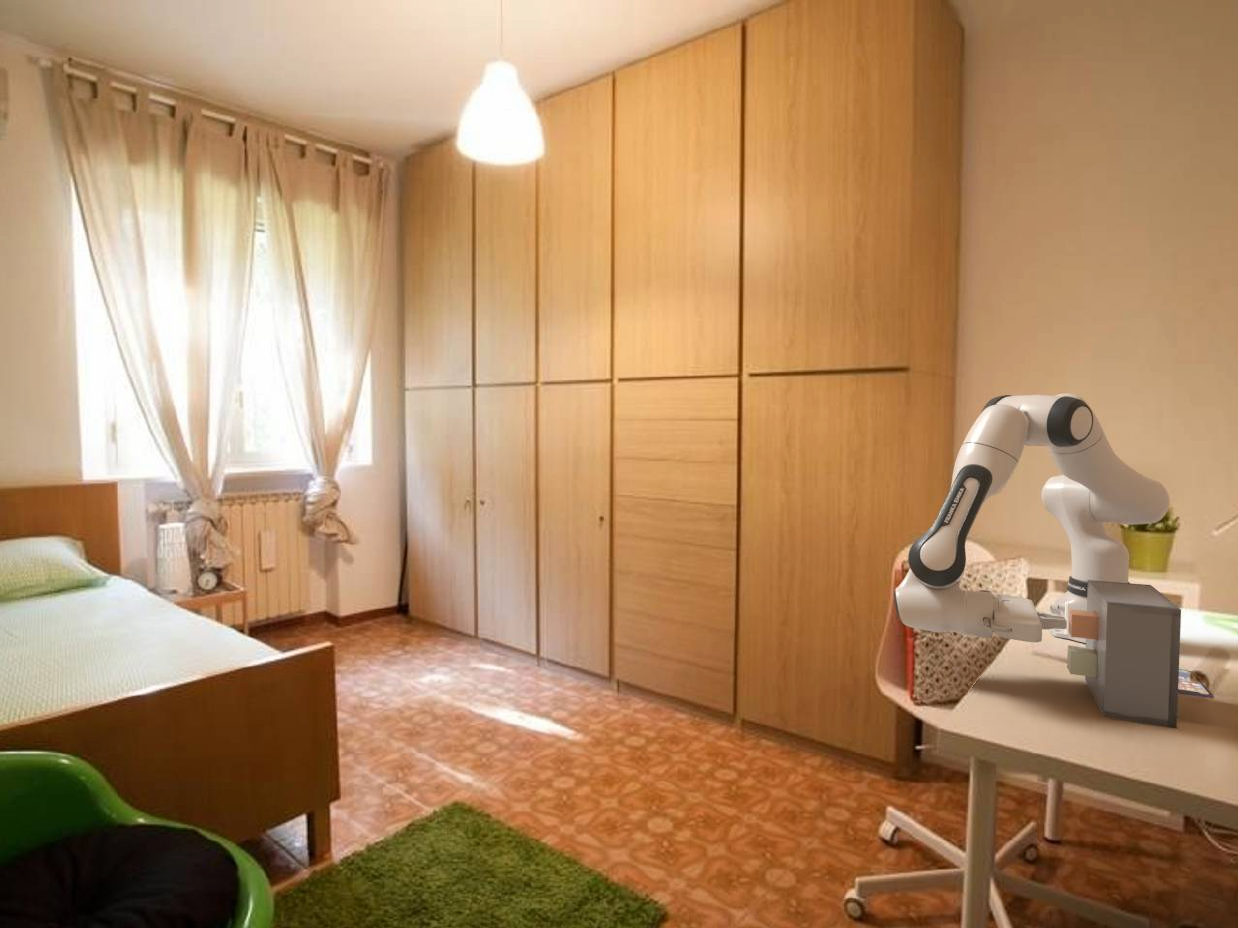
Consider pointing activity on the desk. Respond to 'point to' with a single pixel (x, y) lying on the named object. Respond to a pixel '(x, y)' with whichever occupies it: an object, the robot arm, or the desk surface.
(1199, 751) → the desk surface
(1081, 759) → the desk surface
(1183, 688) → the smartphone
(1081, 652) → the key lower
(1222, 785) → the desk surface
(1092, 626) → the key upper
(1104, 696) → the box
